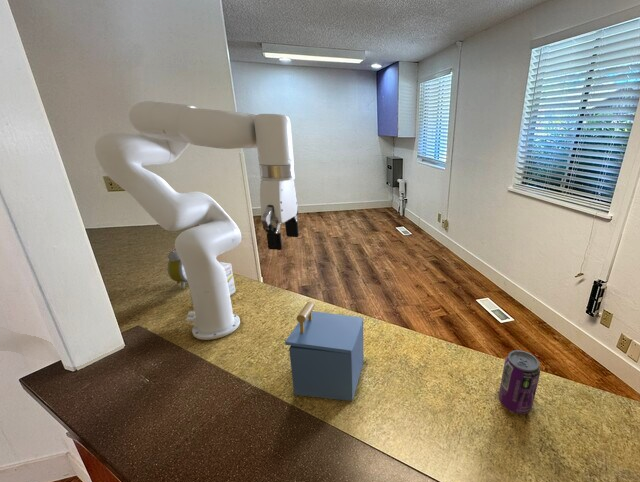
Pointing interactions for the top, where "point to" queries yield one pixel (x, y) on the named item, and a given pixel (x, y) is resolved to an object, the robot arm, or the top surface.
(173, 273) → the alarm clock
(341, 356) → the chest
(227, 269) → the ink box
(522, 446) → the top surface
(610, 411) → the top surface
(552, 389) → the top surface
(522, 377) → the beverage can
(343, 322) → the lid
